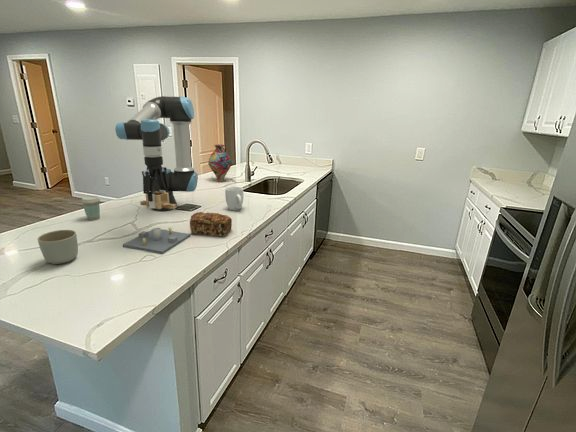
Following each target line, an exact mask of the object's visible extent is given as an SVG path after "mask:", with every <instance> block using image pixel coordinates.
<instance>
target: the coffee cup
mask: <svg viewBox="0 0 576 432" xmlns="http://www.w3.org/2000/svg"><path fill="white" fill-rule="evenodd" d="M100 200H101V199H100V198H99V197H98V196H97V195H87V196H84V197H82V198H81V204H82V206H83V210H84V212H85V216H86V219H87V220H88V221H97V220H99V219H100V218H101V213H100V212H101V210H100V209H101V208H100Z"/></svg>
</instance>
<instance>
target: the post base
mask: <svg viewBox="0 0 576 432" xmlns="http://www.w3.org/2000/svg"><path fill="white" fill-rule="evenodd" d="M191 234H192V233H186V232H180V231H173V230H172V227H168V229H162V228H161V227H155V228H152V229H150V230H148V231H146V230H145V231H144V230H143V231H141V232H138V236H137V237H134V238H133V239H131V240H128V241H126V242H125V243H122V247H123V248H128V249H133V250H139V251H144V252H150V253H154V254H155V253H156V254H161V255H164V254H166V253H167V252H168V251H170V250H171V249H173V248H175V247H177V246H178V245H180V244H181V243H182V242H184V241H185V240H187V239H189V238H191Z"/></svg>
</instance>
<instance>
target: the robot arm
mask: <svg viewBox="0 0 576 432" xmlns="http://www.w3.org/2000/svg"><path fill="white" fill-rule="evenodd" d="M159 119H169V123H171V124H172V128H173V138H174V139H173V140H174V141H173V142H174V154H175V165H176V166H175V168H174V169H173V171H172V170H171V169H169V168H167V167H165V166H164V167H163V166H162V165H163V164H164V160H163V156H162V155H163V150H162V149H163V147H162V141H164V140H166V139H167V138H169V136H170V129H169V127H168V126H167V125H166V124H164V123H161V122H160V121H159ZM193 119H195V109H194V106H193V102H192V100H191V99H190V98H189V97H185V96H157V97H154V98H151V99H150V100H148V101H147V102H145V103H144V104H143V105H142V108H141V109H140V110H139V111H138V112H137V113H136V114H134V115H133V116H132V117H131V118H130V119H129V120H127V122H123V121H122V122H117V123H116V124H115V129H114V131H115V134H116V137H117V138H118V139H119V140H126V141H129V140H130V141H142V151H143V155H144V157H143V161H144V165H145V166H146V170H143V171H141V174H142V188H143V189H142V193H143V194H145V195H146V194H147V195H148V201H149V207H150V208H149V209H151V210H152V211H155V212H167V211H173V209H169V208H161V209H155V208H156V206H155V196H154V194H153V192H155V191H157V192H166V193H169V203H170V204H176V205H177V206H178V203H177V199H176V198H175V196H174V192H186V193H188V192H189V193H190V192H194V191H195V190H196V189H197V187H198V180H199V179H198V178H199V176H198V172H195V168H194V167H193V166H192V157H191V155H192V154H191V153H192V152H191V141H190V137H191V136H190V124H192V120H193Z"/></svg>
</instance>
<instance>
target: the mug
mask: <svg viewBox="0 0 576 432" xmlns="http://www.w3.org/2000/svg"><path fill="white" fill-rule="evenodd" d="M224 191H225V194H224V195H225V203H226V205H227V208H228V210H230V211H240V209H241V208H242V206H243V203H244V188H243V187H241V186H228V187H225V188H224Z"/></svg>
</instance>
